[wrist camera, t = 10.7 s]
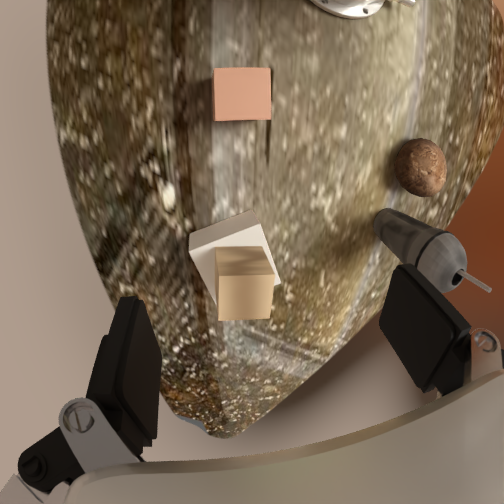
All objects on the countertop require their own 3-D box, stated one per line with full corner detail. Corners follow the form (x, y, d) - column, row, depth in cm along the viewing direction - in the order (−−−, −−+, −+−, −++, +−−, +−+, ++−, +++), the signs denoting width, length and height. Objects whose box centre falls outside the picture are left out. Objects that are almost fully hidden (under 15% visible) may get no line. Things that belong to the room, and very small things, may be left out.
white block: (251, 208, 34) (260, 223, 30) (271, 262, 38) (280, 283, 34) (189, 233, 34) (188, 251, 30) (214, 284, 38) (217, 307, 34)
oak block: (261, 246, 31) (275, 274, 26) (258, 285, 33) (269, 318, 28) (214, 246, 30) (218, 276, 25) (214, 286, 32) (218, 320, 27)
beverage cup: (359, 244, 39) (449, 335, 21) (372, 195, 36) (483, 267, 18) (396, 247, 40) (484, 326, 23) (410, 202, 37) (513, 268, 20)
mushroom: (449, 189, 34) (461, 186, 28) (403, 205, 37) (409, 204, 31) (429, 138, 34) (438, 127, 28) (383, 153, 37) (385, 144, 31)
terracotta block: (257, 76, 27) (270, 68, 22) (258, 119, 29) (271, 119, 24) (211, 77, 26) (213, 68, 21) (213, 120, 29) (215, 121, 23)
